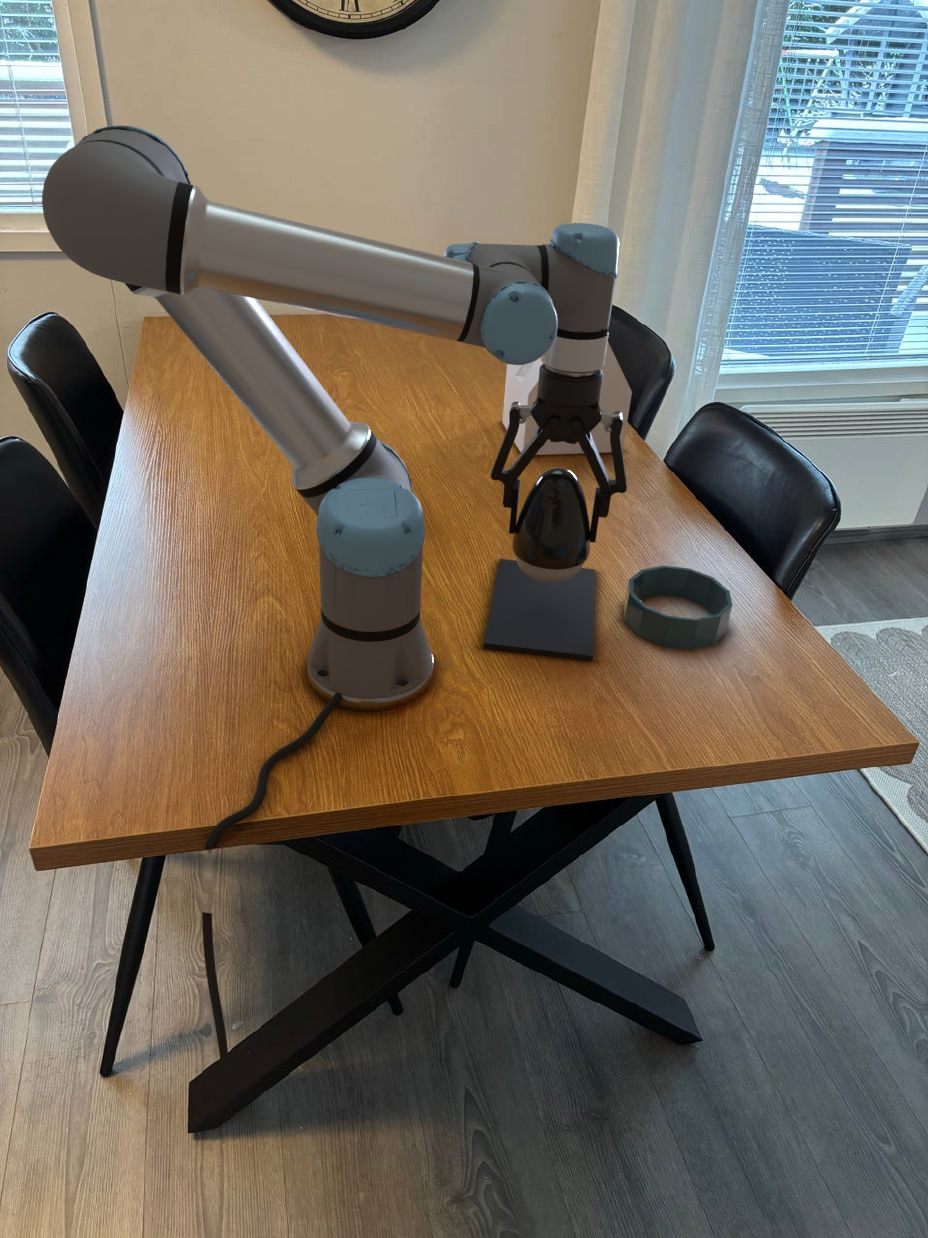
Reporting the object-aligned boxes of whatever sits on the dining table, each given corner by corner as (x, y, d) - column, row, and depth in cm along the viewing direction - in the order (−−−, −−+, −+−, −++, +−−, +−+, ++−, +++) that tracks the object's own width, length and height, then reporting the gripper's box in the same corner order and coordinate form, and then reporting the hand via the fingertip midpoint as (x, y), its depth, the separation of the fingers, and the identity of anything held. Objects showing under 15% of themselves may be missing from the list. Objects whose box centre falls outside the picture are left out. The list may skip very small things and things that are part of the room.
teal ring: (729, 654, 126) (736, 625, 123) (624, 642, 127) (629, 613, 124) (719, 599, 137) (726, 572, 134) (623, 588, 138) (628, 561, 135)
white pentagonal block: (522, 455, 175) (535, 316, 161) (502, 422, 187) (513, 291, 173) (622, 451, 179) (643, 316, 165) (596, 419, 191) (614, 291, 177)
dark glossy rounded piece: (500, 584, 126) (510, 478, 118) (520, 548, 134) (530, 447, 126) (577, 600, 124) (592, 493, 115) (592, 562, 132) (607, 460, 124)
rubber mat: (592, 661, 123) (593, 656, 122) (483, 648, 124) (483, 643, 123) (594, 573, 141) (595, 569, 140) (499, 563, 142) (499, 558, 141)
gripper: (665, 364, 116) (637, 528, 128) (481, 347, 117) (470, 511, 130) (669, 385, 109) (639, 556, 122) (473, 367, 111) (463, 537, 123)
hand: (552, 533), depth 126 cm, fingers closed on dark glossy rounded piece, 10 cm apart
